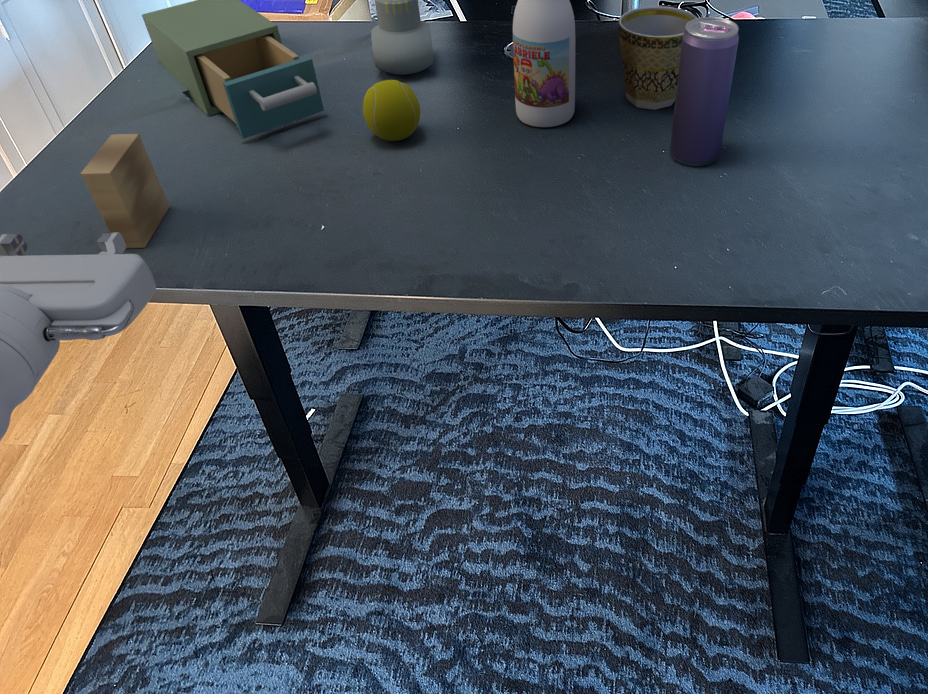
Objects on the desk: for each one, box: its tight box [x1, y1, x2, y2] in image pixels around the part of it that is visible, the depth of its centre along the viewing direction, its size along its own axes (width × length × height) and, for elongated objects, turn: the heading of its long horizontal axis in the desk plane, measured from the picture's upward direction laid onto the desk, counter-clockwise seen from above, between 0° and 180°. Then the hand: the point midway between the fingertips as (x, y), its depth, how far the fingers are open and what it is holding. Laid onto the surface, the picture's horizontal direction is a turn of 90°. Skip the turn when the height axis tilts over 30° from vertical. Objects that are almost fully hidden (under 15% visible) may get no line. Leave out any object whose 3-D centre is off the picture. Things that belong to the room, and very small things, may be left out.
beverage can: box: [669, 16, 740, 167], centre depth 88 cm, size 6×6×15 cm
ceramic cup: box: [617, 5, 698, 111], centre depth 101 cm, size 13×10×10 cm
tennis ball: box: [362, 79, 421, 142], centre depth 96 cm, size 7×7×7 cm
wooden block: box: [80, 133, 170, 249], centre depth 82 cm, size 8×3×9 cm, turn 179°
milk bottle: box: [512, 0, 576, 128], centre depth 94 cm, size 8×8×20 cm
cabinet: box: [141, 0, 283, 117], centre depth 108 cm, size 17×13×9 cm
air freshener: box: [370, 0, 435, 76], centre depth 109 cm, size 11×8×10 cm
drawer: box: [194, 34, 325, 139], centre depth 100 cm, size 20×11×7 cm, turn 38°
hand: (66, 239), depth 72 cm, fingers open, 8 cm apart
